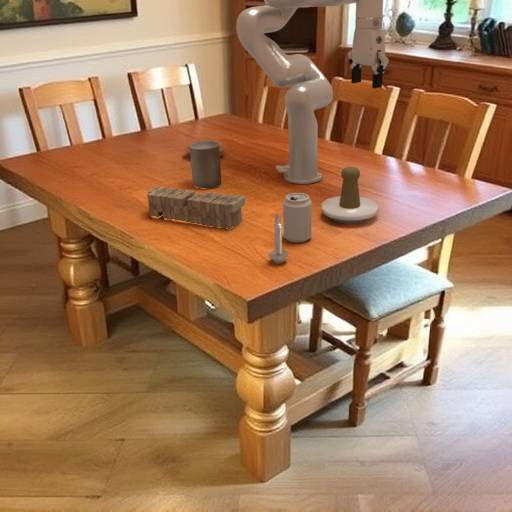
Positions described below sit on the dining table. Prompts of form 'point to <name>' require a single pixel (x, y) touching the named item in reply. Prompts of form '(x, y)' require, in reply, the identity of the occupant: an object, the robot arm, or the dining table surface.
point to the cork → (350, 188)
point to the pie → (221, 145)
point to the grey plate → (349, 210)
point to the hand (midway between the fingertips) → (366, 85)
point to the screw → (278, 243)
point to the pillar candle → (205, 164)
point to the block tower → (196, 206)
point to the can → (297, 217)
